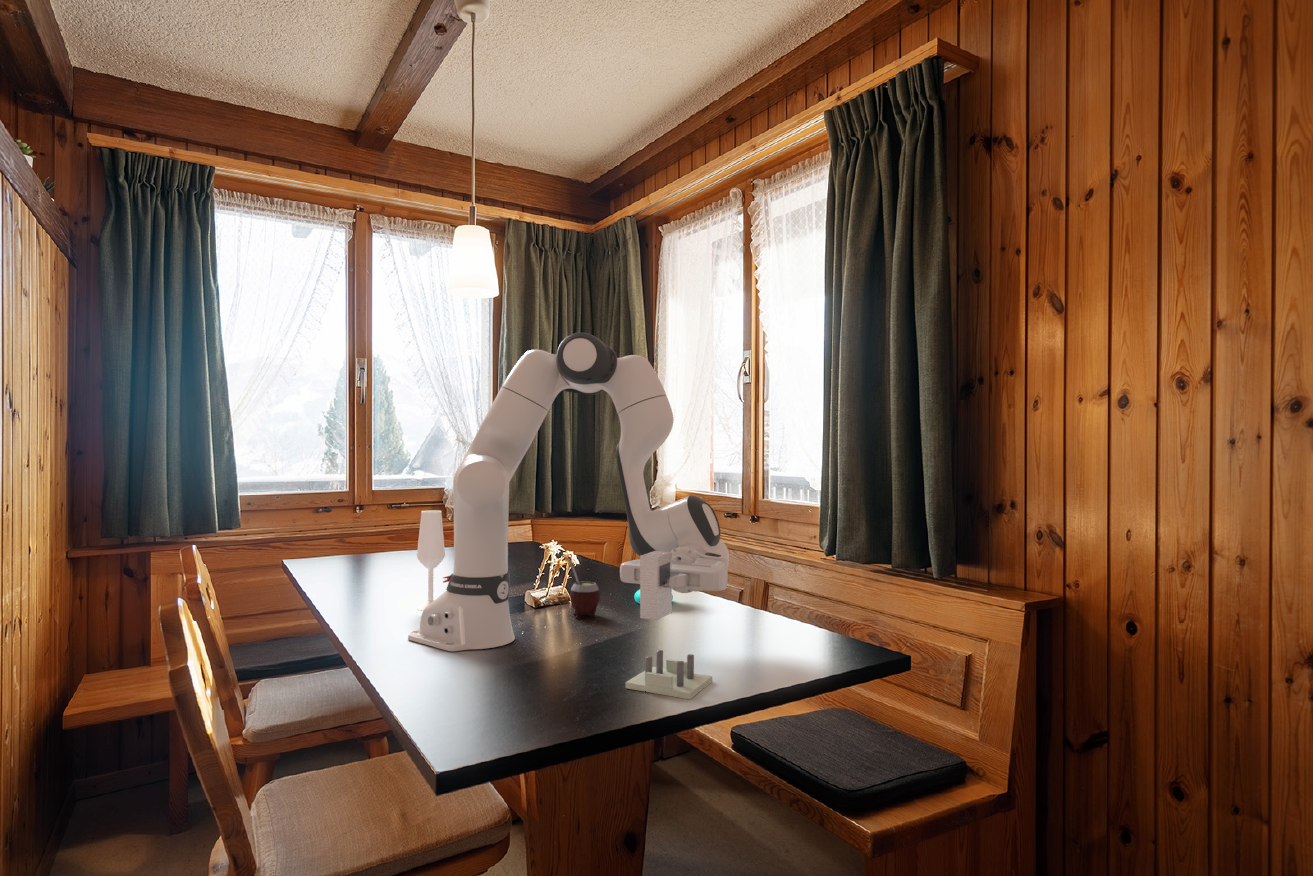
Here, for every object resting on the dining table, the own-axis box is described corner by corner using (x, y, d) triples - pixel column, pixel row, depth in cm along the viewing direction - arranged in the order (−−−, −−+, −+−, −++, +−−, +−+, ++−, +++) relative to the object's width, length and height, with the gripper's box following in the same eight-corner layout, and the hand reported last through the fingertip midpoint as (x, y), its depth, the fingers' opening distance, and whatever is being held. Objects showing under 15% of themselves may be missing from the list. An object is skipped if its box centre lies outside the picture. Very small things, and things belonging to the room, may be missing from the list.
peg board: (625, 688, 130) (625, 659, 130) (651, 672, 139) (651, 644, 139) (689, 699, 125) (690, 669, 125) (712, 681, 134) (712, 653, 134)
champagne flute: (419, 605, 191) (420, 509, 191) (446, 604, 191) (447, 509, 191) (413, 611, 184) (414, 512, 184) (442, 610, 185) (443, 512, 185)
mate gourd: (605, 616, 182) (605, 553, 181) (585, 622, 175) (585, 557, 175) (580, 611, 186) (581, 550, 185) (560, 618, 179) (560, 554, 179)
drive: (640, 618, 133) (640, 555, 133) (654, 610, 139) (654, 550, 139) (657, 620, 132) (657, 557, 132) (671, 612, 137) (671, 552, 137)
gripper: (638, 549, 152) (604, 560, 139) (734, 556, 143) (707, 568, 131) (638, 580, 152) (604, 594, 139) (734, 590, 143) (707, 605, 131)
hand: (655, 582), depth 135 cm, fingers closed on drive, 3 cm apart
